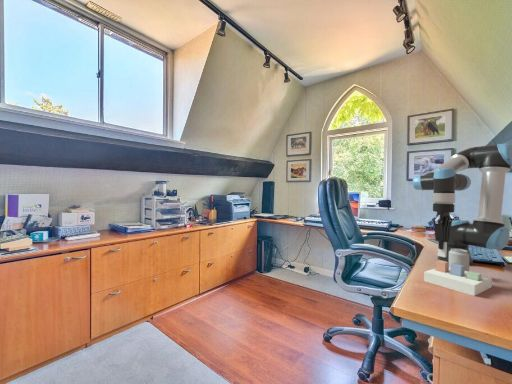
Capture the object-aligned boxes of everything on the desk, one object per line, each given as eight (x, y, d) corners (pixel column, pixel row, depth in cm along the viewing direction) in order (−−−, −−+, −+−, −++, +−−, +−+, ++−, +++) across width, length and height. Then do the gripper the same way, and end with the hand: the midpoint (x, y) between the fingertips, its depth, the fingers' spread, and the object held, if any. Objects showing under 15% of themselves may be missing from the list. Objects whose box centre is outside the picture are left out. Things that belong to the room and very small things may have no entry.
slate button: (453, 274, 104) (454, 263, 104) (464, 277, 101) (464, 265, 101) (450, 276, 103) (450, 264, 103) (460, 278, 99) (460, 266, 99)
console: (443, 274, 114) (443, 265, 114) (491, 286, 99) (492, 277, 99) (424, 280, 105) (424, 271, 105) (474, 296, 90) (474, 285, 90)
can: (473, 278, 108) (473, 252, 108) (454, 277, 110) (454, 251, 110) (462, 273, 116) (463, 248, 116) (444, 271, 117) (445, 247, 117)
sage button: (470, 283, 100) (470, 271, 100) (481, 286, 97) (481, 273, 97) (466, 284, 98) (466, 272, 98) (477, 287, 95) (478, 275, 95)
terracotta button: (439, 270, 109) (439, 259, 109) (448, 273, 106) (448, 262, 106) (435, 272, 107) (435, 261, 107) (444, 274, 104) (445, 263, 104)
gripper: (440, 202, 113) (439, 252, 113) (426, 202, 106) (425, 255, 106) (460, 203, 106) (458, 256, 107) (446, 203, 100) (445, 260, 100)
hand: (441, 256), depth 106 cm, fingers closed
